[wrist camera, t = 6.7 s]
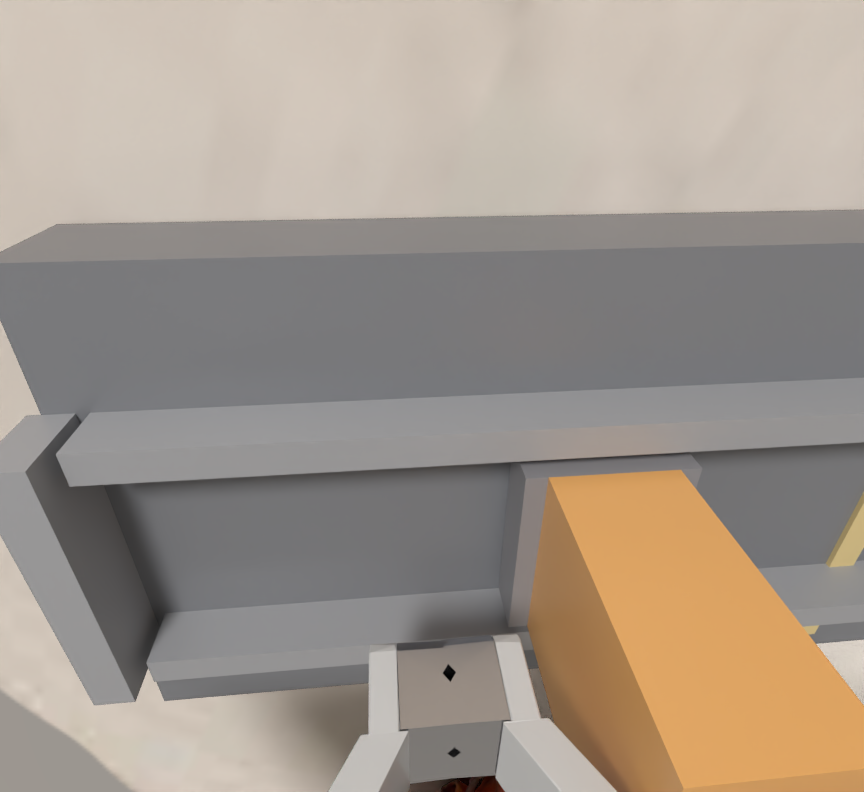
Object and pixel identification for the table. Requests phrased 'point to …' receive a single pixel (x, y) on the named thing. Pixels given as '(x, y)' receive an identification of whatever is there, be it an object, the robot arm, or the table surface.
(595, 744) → the fader
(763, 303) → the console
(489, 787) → the dragon fruit
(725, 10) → the table surface
